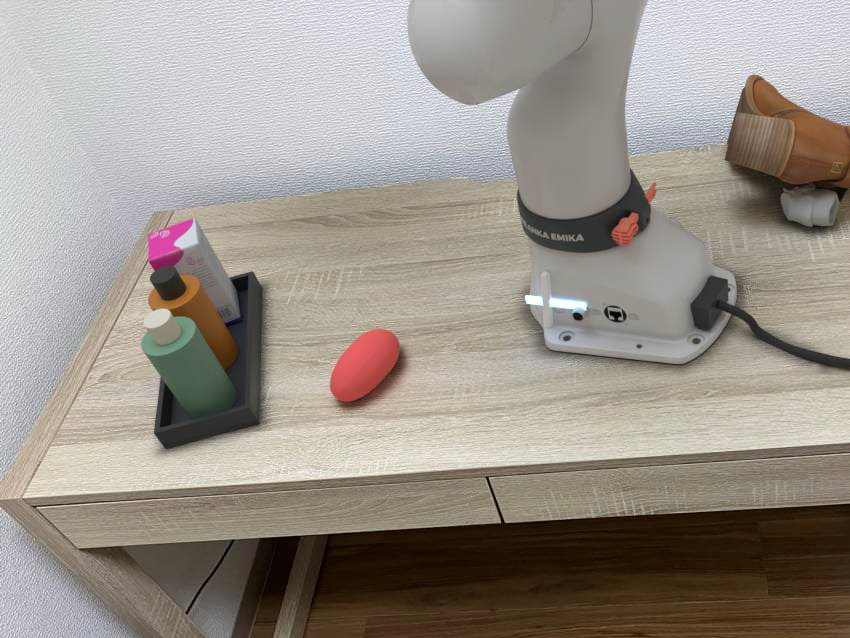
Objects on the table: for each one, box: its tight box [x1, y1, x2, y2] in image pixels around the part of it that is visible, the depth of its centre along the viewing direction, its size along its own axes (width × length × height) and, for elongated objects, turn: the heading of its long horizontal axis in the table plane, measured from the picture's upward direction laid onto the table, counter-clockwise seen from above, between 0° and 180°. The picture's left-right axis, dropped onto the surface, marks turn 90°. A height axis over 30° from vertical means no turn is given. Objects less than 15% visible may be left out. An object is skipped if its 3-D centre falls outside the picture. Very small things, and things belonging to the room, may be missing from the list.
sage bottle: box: [140, 309, 237, 419], centre depth 93 cm, size 6×6×12 cm
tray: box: [153, 270, 263, 450], centre depth 102 cm, size 23×10×3 cm, turn 12°
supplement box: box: [147, 217, 242, 326], centre depth 104 cm, size 6×6×12 cm
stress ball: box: [329, 328, 401, 403], centre depth 95 cm, size 5×9×6 cm
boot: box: [724, 73, 850, 189], centre depth 105 cm, size 9×24×19 cm
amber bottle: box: [147, 266, 239, 370], centre depth 98 cm, size 6×6×12 cm
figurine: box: [780, 183, 841, 228], centre depth 101 cm, size 4×8×5 cm
